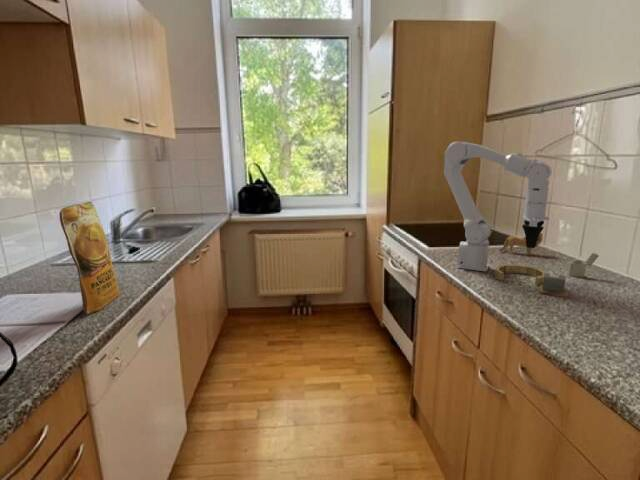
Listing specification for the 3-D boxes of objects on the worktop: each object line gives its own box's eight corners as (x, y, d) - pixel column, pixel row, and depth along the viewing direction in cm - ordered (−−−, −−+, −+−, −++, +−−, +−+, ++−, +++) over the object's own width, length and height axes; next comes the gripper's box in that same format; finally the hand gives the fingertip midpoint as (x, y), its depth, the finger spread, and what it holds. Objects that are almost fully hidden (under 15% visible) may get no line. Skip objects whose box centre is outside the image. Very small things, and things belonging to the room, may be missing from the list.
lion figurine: (538, 252, 146) (541, 230, 144) (542, 256, 141) (545, 233, 139) (498, 250, 151) (500, 229, 148) (500, 253, 146) (502, 231, 144)
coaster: (539, 293, 104) (539, 291, 104) (539, 285, 110) (539, 284, 110) (568, 297, 101) (568, 295, 101) (567, 289, 107) (567, 287, 107)
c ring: (493, 279, 116) (494, 272, 116) (498, 267, 129) (499, 260, 128) (545, 287, 109) (546, 279, 109) (545, 273, 122) (546, 265, 121)
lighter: (569, 275, 119) (572, 252, 117) (567, 274, 120) (571, 250, 119) (595, 278, 116) (599, 253, 114) (593, 276, 118) (597, 252, 116)
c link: (542, 290, 105) (544, 277, 104) (542, 285, 109) (544, 273, 108) (563, 293, 103) (565, 279, 102) (562, 288, 106) (564, 275, 105)
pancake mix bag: (66, 318, 93) (46, 209, 87) (105, 291, 112) (91, 199, 106) (93, 317, 94) (75, 208, 87) (128, 290, 112) (114, 199, 106)
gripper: (551, 206, 106) (545, 251, 109) (550, 200, 118) (545, 241, 121) (523, 204, 109) (518, 249, 112) (525, 199, 121) (521, 239, 124)
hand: (530, 245), depth 117 cm, fingers open, 7 cm apart
